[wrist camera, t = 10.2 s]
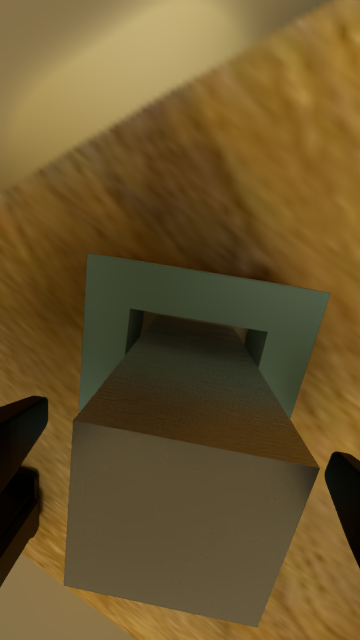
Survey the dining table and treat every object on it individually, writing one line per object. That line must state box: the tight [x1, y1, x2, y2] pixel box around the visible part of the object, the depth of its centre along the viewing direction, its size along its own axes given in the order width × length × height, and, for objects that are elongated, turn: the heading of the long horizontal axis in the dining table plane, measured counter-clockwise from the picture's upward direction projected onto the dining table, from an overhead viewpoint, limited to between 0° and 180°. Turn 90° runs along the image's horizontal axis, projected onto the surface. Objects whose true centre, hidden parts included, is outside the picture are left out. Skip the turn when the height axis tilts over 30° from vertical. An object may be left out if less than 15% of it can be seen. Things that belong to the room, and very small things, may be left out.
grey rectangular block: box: [64, 315, 320, 627], centre depth 9 cm, size 4×4×9 cm
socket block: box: [79, 254, 330, 419], centre depth 12 cm, size 10×10×4 cm
